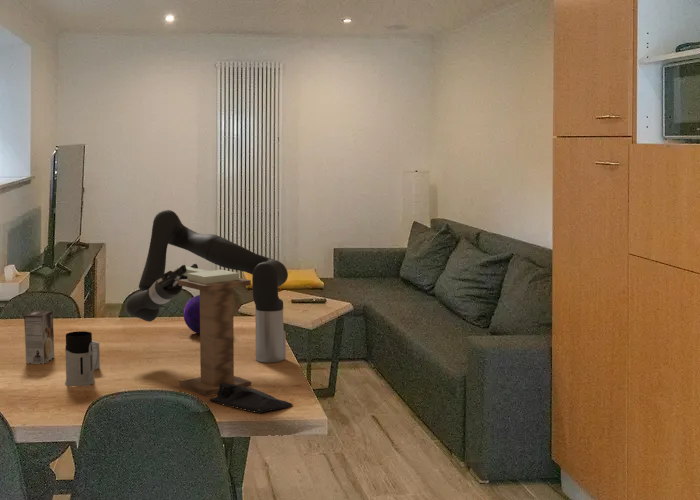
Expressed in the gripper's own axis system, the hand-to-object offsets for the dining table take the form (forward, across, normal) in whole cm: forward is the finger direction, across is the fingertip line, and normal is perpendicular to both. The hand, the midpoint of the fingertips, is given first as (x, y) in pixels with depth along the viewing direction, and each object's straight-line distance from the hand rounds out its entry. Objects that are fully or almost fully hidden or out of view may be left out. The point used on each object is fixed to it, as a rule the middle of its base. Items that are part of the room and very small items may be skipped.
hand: (190, 267), depth 267 cm
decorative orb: (-61, +38, +5) cm, 72 cm away
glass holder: (-30, -28, +23) cm, 47 cm away
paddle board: (+4, 0, +5) cm, 6 cm away
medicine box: (-44, -20, +15) cm, 50 cm away
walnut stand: (-6, 0, +36) cm, 37 cm away
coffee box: (-61, -26, +5) cm, 67 cm away
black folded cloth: (+11, -2, +47) cm, 48 cm away
